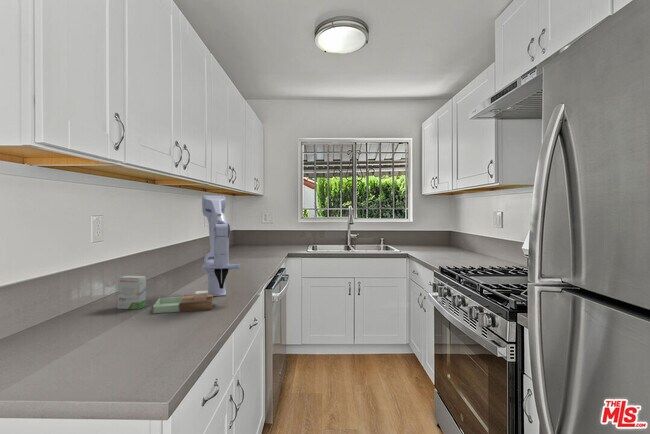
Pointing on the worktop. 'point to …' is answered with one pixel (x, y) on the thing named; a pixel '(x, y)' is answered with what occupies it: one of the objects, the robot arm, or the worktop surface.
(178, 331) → the worktop surface
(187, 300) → the walnut board
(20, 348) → the worktop surface
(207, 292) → the cream tile
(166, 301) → the tray
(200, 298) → the terracotta tile
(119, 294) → the ink box
